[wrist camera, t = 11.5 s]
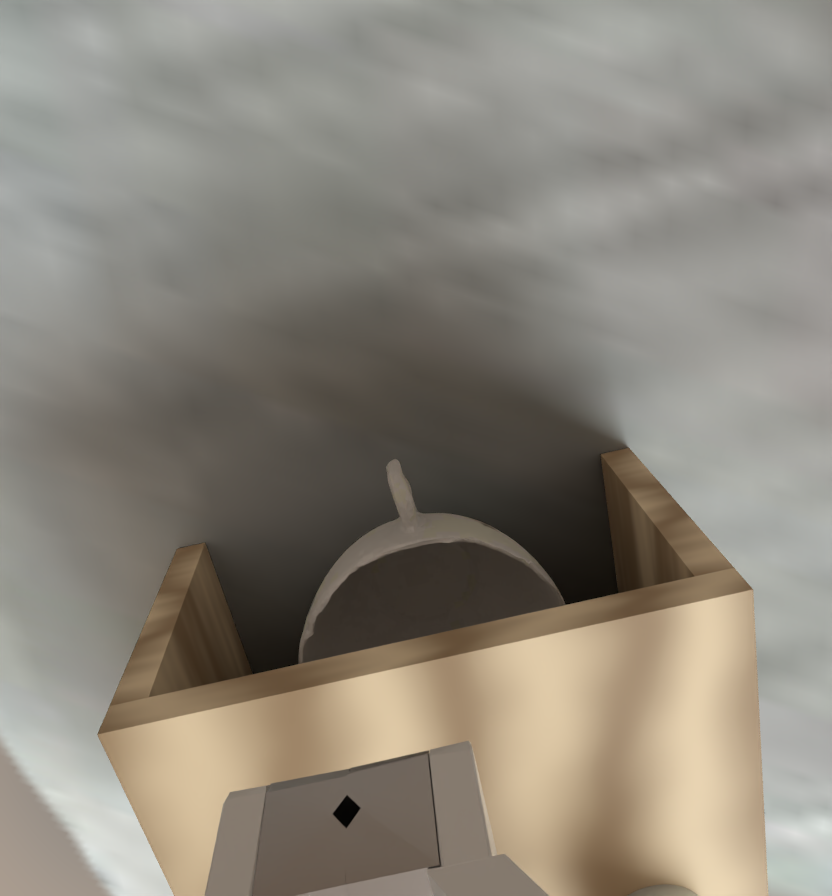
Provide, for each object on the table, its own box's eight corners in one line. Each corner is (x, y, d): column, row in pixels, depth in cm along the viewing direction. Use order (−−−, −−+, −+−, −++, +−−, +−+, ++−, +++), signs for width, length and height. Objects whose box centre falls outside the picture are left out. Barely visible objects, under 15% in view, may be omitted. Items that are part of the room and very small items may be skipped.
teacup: (552, 643, 44) (591, 745, 37) (338, 687, 44) (335, 798, 37) (515, 399, 39) (553, 461, 31) (269, 450, 39) (249, 525, 31)
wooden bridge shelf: (629, 447, 40) (753, 589, 28) (662, 741, 48) (771, 956, 35) (176, 548, 40) (97, 734, 28) (281, 824, 48) (256, 1067, 35)
